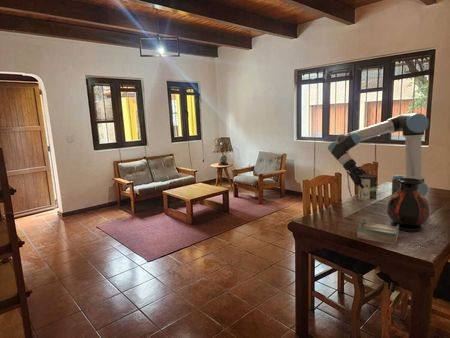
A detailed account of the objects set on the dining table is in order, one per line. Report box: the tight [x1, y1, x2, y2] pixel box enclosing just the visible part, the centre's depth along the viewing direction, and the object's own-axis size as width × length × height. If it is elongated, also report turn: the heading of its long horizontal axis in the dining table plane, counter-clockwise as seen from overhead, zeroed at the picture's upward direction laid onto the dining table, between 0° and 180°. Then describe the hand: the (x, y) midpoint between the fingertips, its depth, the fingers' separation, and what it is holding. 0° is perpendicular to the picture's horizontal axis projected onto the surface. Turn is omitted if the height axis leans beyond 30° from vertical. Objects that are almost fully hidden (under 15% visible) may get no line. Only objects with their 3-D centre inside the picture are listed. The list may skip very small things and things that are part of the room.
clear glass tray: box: [356, 219, 400, 245], centre depth 161 cm, size 16×18×6 cm
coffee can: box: [357, 173, 378, 202], centre depth 179 cm, size 10×10×14 cm
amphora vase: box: [385, 178, 432, 233], centre depth 169 cm, size 22×22×28 cm
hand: (372, 190), depth 177 cm, fingers closed on coffee can, 10 cm apart
